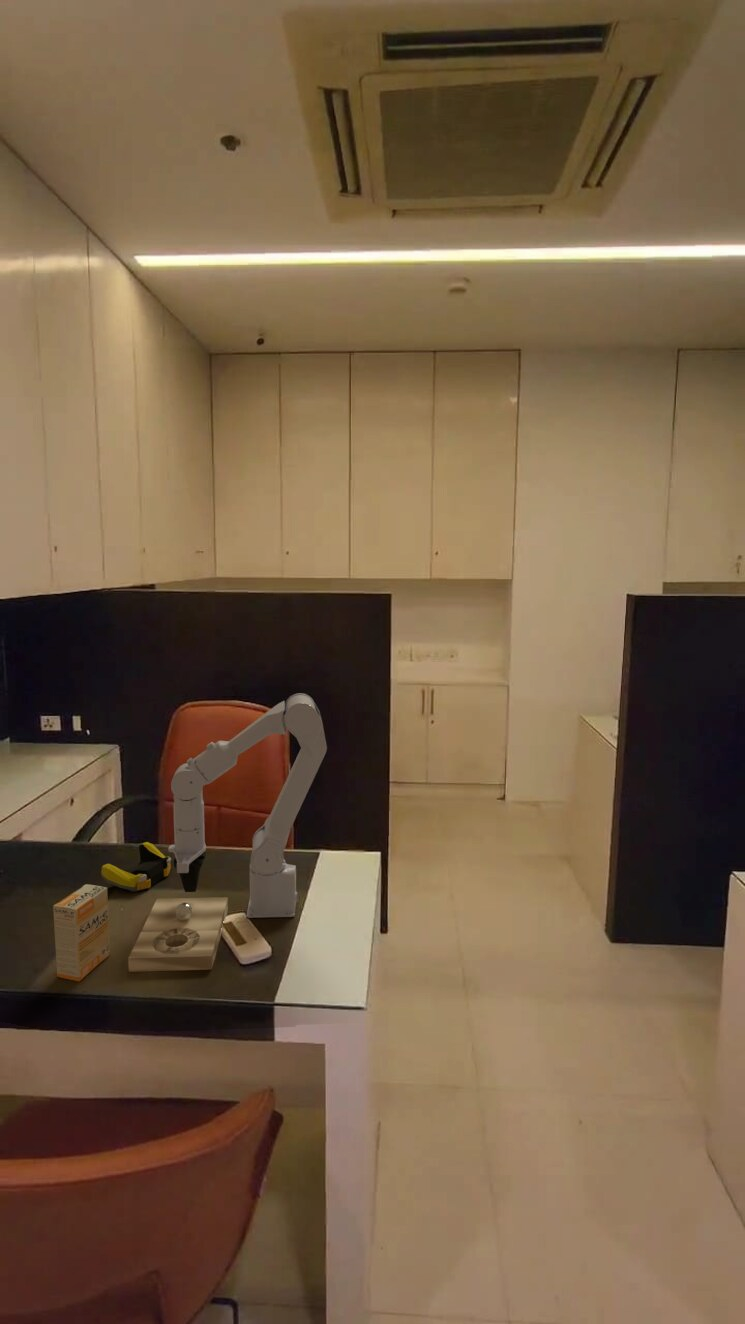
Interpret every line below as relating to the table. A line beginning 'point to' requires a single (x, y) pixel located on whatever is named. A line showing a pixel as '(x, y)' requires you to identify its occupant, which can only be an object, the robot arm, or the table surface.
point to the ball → (184, 911)
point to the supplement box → (81, 931)
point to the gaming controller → (139, 870)
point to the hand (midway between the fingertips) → (190, 890)
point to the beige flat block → (179, 936)
